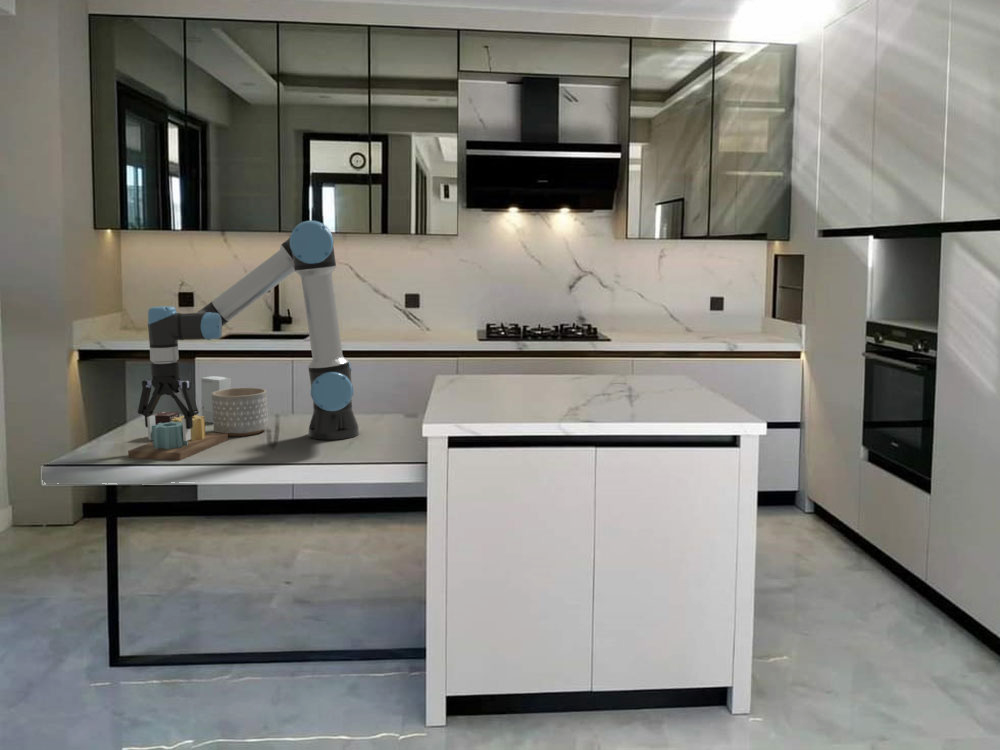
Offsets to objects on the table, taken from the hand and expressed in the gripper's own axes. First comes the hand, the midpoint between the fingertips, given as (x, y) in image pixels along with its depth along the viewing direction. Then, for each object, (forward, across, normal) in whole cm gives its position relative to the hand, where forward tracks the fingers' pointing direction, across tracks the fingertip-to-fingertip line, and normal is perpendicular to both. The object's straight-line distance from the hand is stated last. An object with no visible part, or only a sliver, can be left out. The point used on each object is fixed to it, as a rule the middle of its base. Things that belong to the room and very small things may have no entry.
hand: (169, 439), depth 264 cm
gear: (+2, 0, 0) cm, 2 cm away
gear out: (+2, 0, -10) cm, 10 cm away
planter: (+4, -6, -30) cm, 31 cm away
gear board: (+4, 0, -5) cm, 6 cm away
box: (+4, +13, -19) cm, 23 cm away
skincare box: (+4, +10, -44) cm, 45 cm away
